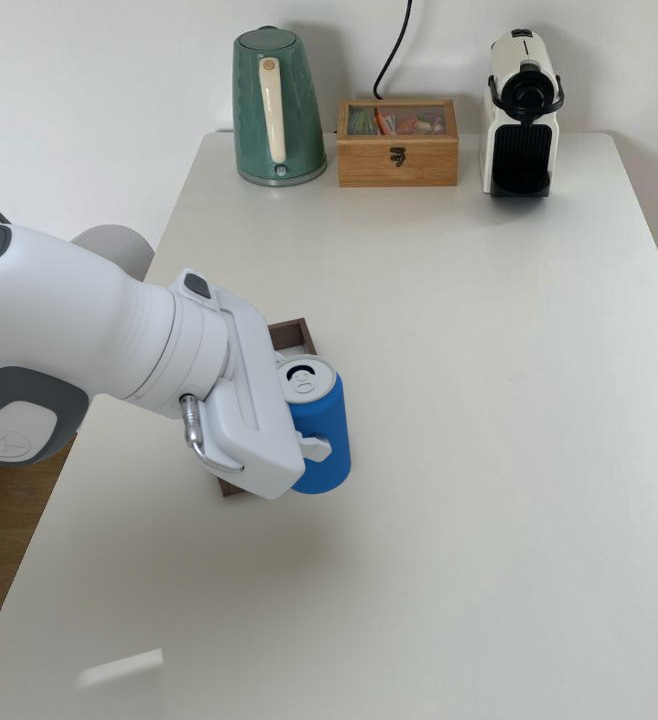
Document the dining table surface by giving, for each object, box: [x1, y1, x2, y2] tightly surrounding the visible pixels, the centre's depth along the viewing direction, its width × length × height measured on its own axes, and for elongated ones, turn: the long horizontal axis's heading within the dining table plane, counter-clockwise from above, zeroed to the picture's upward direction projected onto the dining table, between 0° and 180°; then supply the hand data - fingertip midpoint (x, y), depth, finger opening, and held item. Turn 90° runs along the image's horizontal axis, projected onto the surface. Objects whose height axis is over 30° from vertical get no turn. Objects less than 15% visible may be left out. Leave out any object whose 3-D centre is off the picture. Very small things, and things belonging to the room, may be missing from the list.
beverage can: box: [275, 353, 352, 496], centre depth 70 cm, size 6×6×12 cm
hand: (315, 417), depth 70 cm, fingers closed on beverage can, 6 cm apart
